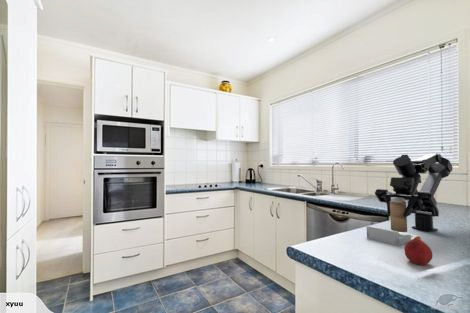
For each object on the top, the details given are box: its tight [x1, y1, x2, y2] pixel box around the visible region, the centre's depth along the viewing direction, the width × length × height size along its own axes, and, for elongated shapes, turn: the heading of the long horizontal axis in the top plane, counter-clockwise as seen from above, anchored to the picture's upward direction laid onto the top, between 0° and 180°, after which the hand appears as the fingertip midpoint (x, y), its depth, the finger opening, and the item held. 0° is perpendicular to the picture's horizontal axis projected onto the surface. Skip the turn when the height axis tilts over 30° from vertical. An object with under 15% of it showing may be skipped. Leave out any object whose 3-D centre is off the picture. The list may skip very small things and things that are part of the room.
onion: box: [403, 235, 434, 266], centre depth 60 cm, size 6×6×8 cm
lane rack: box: [366, 225, 417, 246], centre depth 82 cm, size 17×10×5 cm, turn 121°
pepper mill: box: [389, 197, 408, 233], centre depth 84 cm, size 5×5×12 cm
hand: (396, 215), depth 84 cm, fingers closed on pepper mill, 5 cm apart
